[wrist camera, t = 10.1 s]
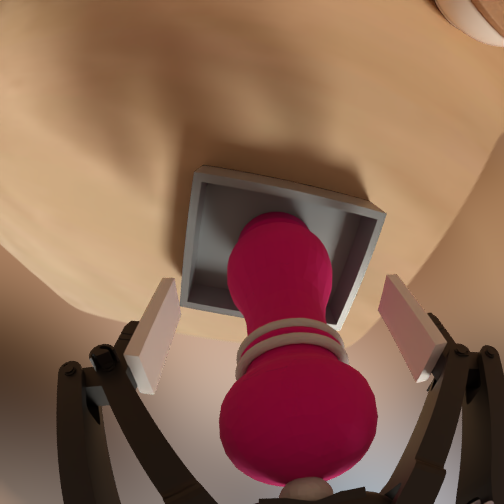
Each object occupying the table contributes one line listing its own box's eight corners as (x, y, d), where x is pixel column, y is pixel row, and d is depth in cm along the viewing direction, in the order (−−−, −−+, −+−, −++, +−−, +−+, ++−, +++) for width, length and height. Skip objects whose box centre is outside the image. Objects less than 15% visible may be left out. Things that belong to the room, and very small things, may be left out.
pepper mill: (280, 186, 21) (372, 474, 3) (334, 250, 24) (439, 486, 5) (213, 243, 23) (143, 508, 5) (270, 298, 26) (284, 533, 8)
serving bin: (188, 284, 26) (179, 306, 23) (203, 164, 21) (194, 171, 18) (331, 307, 27) (339, 330, 24) (369, 201, 22) (386, 213, 19)
